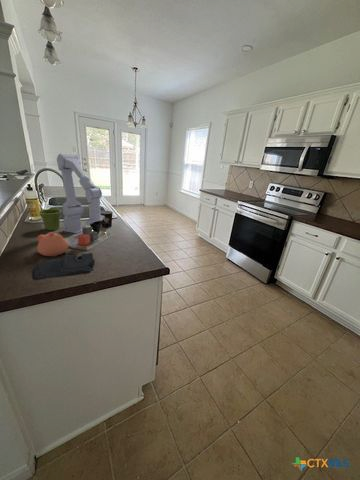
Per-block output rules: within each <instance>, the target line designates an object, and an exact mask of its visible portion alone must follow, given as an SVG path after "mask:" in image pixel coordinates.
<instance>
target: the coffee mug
mask: <svg viewBox="0 0 360 480" xmlns="http://www.w3.org/2000/svg"><path fill="white" fill-rule="evenodd" d="M100 211H101V215H103V216H105V219H103V220H102V225H101V227H102V228H103V229H109V228H111V227H112V225H113V211H112V210H100Z"/></svg>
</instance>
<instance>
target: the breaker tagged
mask: <svg viewBox="0 0 360 480" xmlns="http://www.w3.org/2000/svg"><path fill="white" fill-rule="evenodd" d="M88 235H90V240H95V239H97V238H98V232H94V231H92V232H90V233H88Z"/></svg>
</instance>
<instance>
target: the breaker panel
mask: <svg viewBox="0 0 360 480" xmlns="http://www.w3.org/2000/svg"><path fill="white" fill-rule="evenodd" d="M92 231H93V229H91V232H92ZM81 234H83V232H82V231H80V232H78V233H74V234H73V235H70V236H68V237H66V238H65V237H64V239H65V240H66V242H67V244H68V248H72V249H77V250H83V251H86V252H87V251H90V250H91V249H93V248H94V247H96V246H98V245H99V244H101V243H103V242H105V241H107V240H108V239H110V238H112V237H114V233H113V232H107V231H101V230H100V231H99V234H98V238H97V239H95V240H90V243H89V244H87V245H80V244H79V243H78V236H79V235H81Z"/></svg>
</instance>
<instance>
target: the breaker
mask: <svg viewBox="0 0 360 480" xmlns="http://www.w3.org/2000/svg"><path fill="white" fill-rule="evenodd" d="M91 230H92V227H91V226H90V225H85V226H83V227H82V231H81V232H83V234H88V233H90V232H91Z"/></svg>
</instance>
